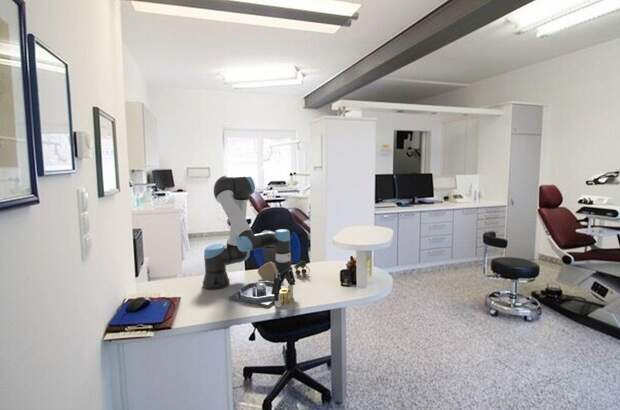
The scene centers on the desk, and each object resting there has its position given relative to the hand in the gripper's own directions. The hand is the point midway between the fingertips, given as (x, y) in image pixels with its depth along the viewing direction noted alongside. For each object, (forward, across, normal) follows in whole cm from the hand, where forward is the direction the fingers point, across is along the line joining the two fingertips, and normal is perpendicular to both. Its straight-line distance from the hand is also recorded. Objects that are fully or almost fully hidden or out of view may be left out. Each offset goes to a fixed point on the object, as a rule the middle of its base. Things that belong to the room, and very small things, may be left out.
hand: (284, 301), depth 170 cm
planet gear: (0, 0, 0) cm, 0 cm away
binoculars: (0, +41, +12) cm, 42 cm away
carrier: (0, +3, +16) cm, 16 cm away
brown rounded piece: (0, +25, +24) cm, 35 cm away
